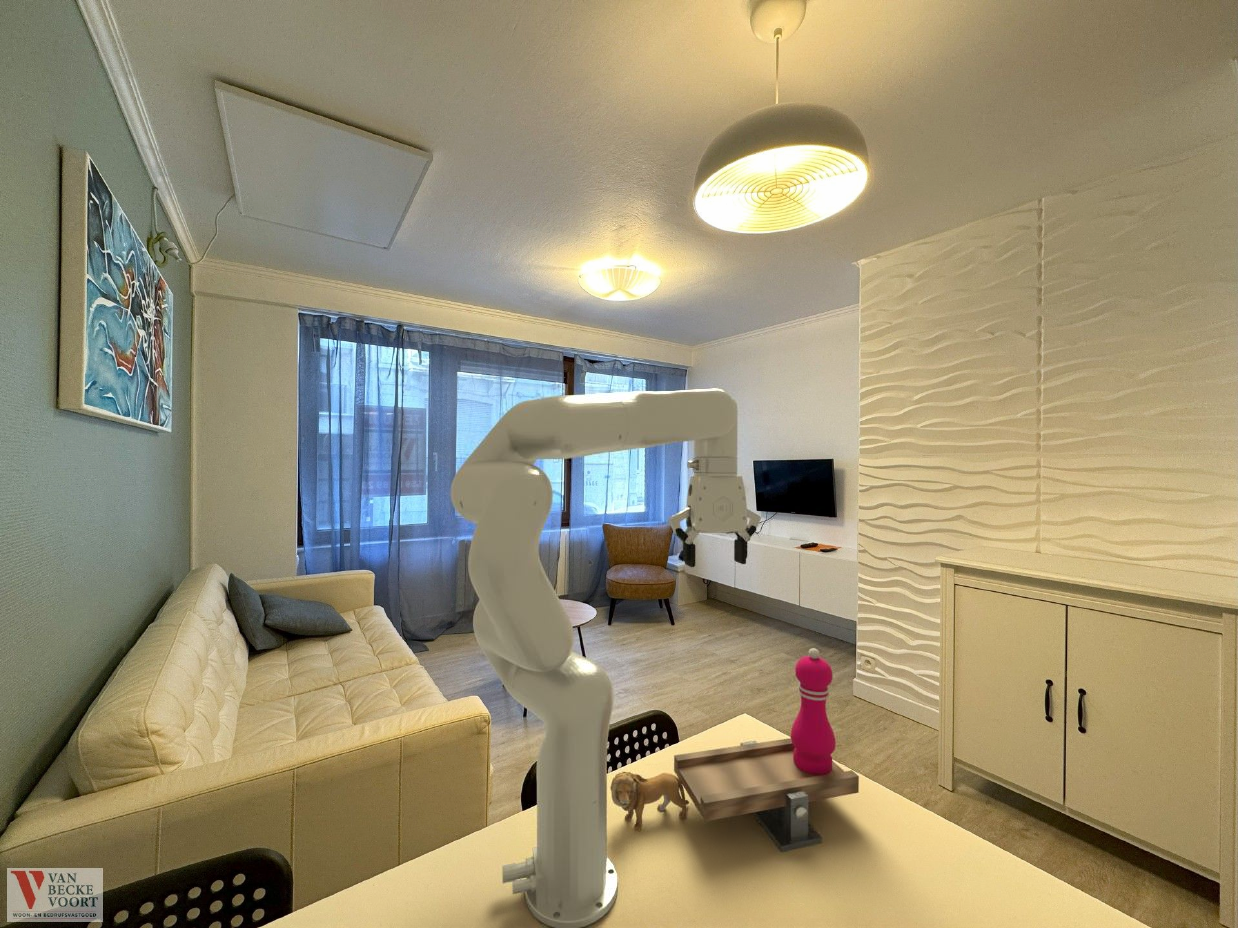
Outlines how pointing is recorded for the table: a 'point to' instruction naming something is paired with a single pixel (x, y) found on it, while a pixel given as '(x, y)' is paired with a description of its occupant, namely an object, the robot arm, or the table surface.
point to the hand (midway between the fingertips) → (715, 564)
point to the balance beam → (754, 779)
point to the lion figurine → (646, 794)
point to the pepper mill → (813, 716)
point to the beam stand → (789, 822)
